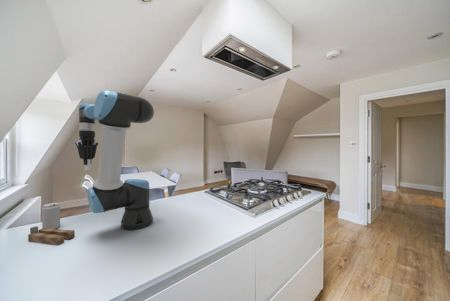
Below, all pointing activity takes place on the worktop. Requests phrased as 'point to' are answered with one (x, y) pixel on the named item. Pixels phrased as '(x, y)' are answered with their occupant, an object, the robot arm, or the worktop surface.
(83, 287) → the worktop surface
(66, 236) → the bar
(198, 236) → the worktop surface
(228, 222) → the worktop surface
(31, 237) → the bar
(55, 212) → the beverage can
